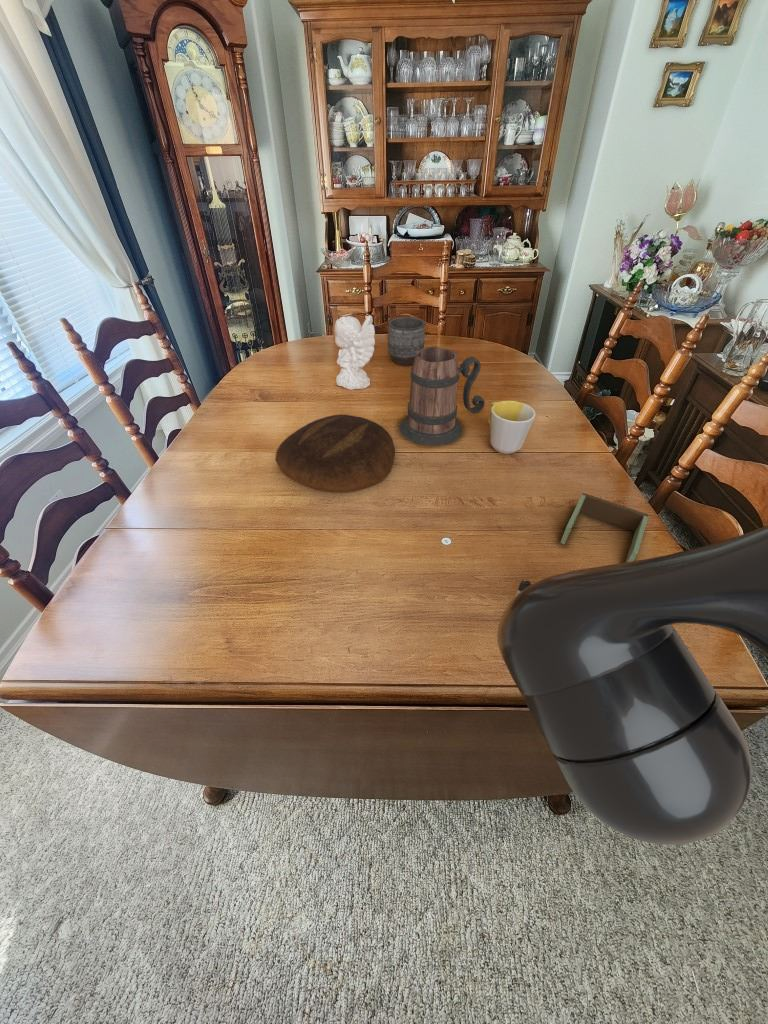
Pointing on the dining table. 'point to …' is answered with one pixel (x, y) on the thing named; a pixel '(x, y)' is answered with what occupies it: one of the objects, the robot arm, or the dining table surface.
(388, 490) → the dining table surface
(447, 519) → the dining table surface
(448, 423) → the tankard
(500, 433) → the mug
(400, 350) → the planter
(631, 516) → the green u-shaped frame
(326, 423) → the bread
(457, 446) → the dining table surface
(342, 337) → the cherub figurine
